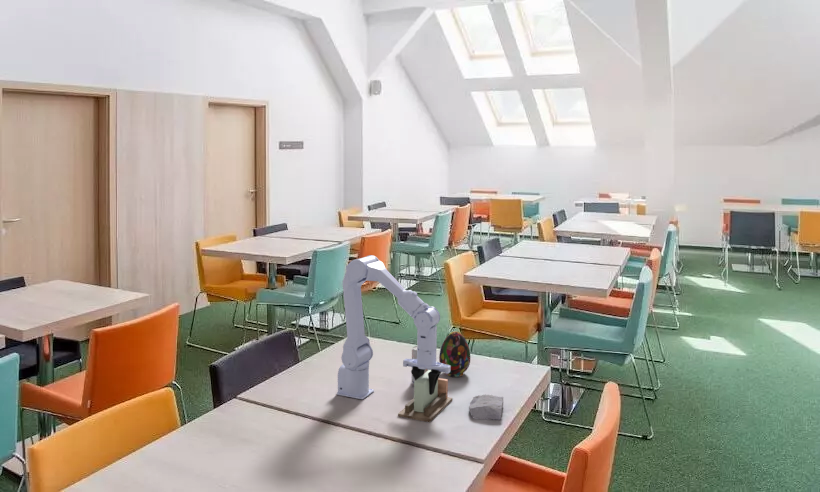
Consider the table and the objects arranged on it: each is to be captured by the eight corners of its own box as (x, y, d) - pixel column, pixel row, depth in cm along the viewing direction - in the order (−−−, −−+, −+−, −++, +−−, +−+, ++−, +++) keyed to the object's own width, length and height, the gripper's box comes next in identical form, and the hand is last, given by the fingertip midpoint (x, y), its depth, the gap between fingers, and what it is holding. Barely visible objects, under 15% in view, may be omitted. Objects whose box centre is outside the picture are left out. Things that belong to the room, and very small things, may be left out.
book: (413, 410, 189) (414, 381, 188) (428, 397, 199) (428, 369, 198) (423, 412, 188) (423, 383, 187) (437, 399, 198) (438, 371, 196)
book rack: (397, 416, 188) (398, 393, 187) (422, 394, 204) (422, 374, 203) (429, 422, 184) (430, 399, 183) (452, 400, 200) (452, 379, 199)
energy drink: (427, 386, 211) (428, 350, 210) (411, 386, 211) (411, 350, 210) (427, 380, 217) (428, 345, 215) (411, 380, 217) (412, 345, 215)
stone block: (469, 424, 187) (503, 421, 185) (466, 408, 187) (501, 404, 185) (473, 410, 199) (505, 406, 197) (470, 394, 198) (502, 391, 196)
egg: (435, 377, 219) (436, 334, 217) (443, 367, 230) (444, 326, 227) (466, 381, 216) (467, 337, 214) (472, 370, 227) (473, 329, 224)
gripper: (398, 348, 190) (398, 392, 192) (444, 355, 184) (443, 401, 186) (408, 342, 197) (408, 385, 199) (453, 349, 191) (452, 392, 193)
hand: (426, 392), depth 193 cm, fingers closed on book, 3 cm apart
